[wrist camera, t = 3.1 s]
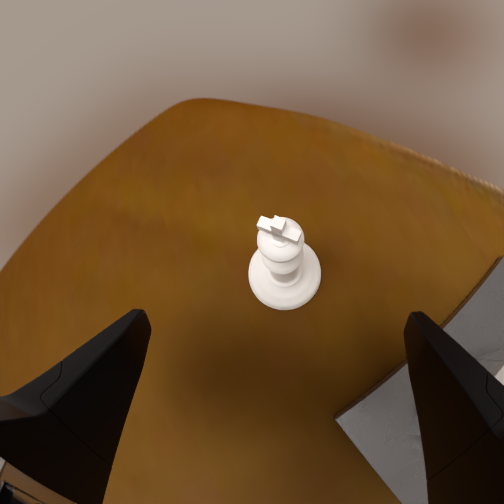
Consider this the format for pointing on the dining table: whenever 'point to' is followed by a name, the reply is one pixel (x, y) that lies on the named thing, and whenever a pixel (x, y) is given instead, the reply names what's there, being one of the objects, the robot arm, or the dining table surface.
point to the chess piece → (283, 265)
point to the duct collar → (402, 400)
